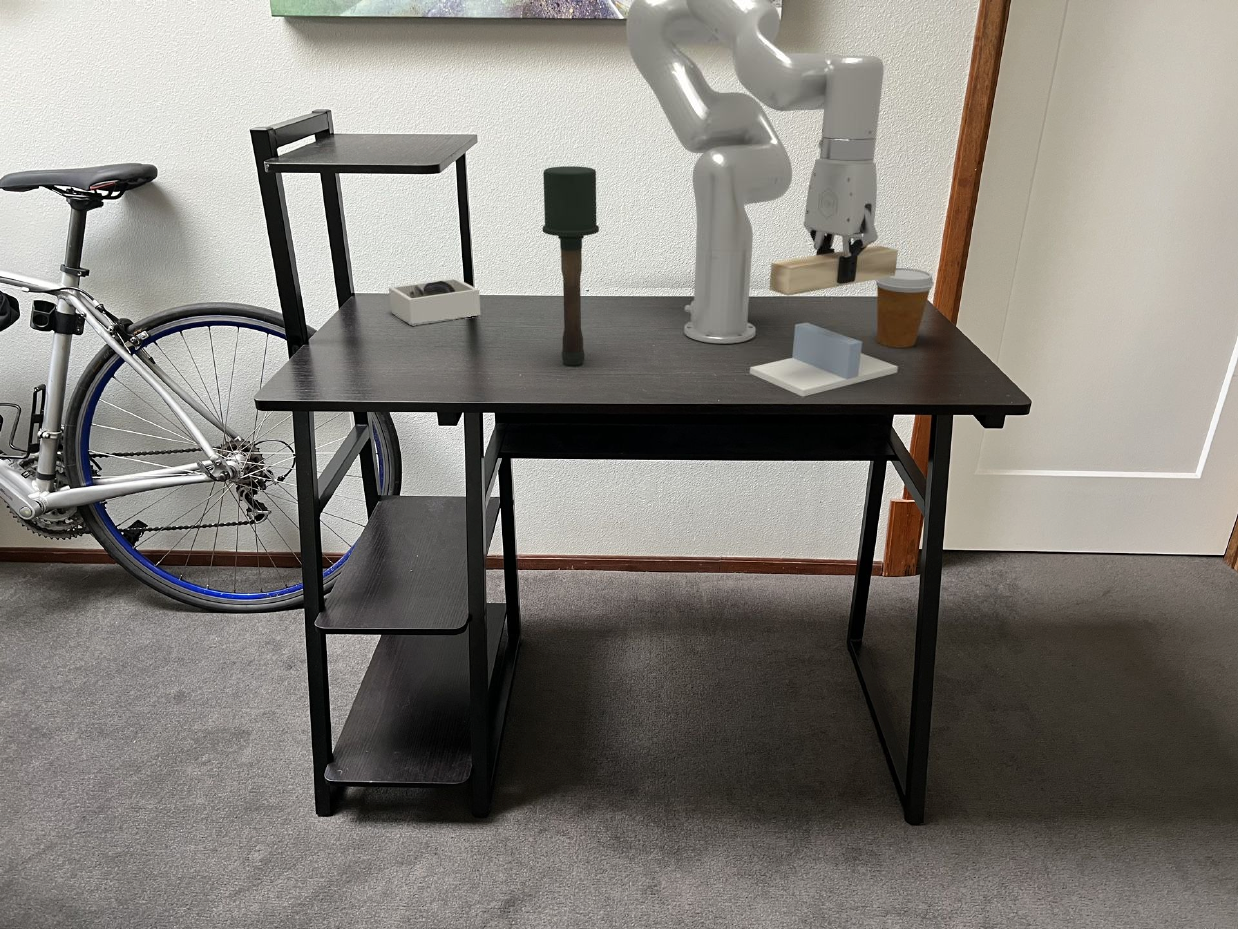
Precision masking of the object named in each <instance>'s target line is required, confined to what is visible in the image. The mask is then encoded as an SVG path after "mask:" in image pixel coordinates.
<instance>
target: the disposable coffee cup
mask: <svg viewBox="0 0 1238 929" xmlns="http://www.w3.org/2000/svg"><path fill="white" fill-rule="evenodd" d="M874 281H875V283H876V286H877V292H876V293H877V295H876V297H877V298H876V299H877V301H876V302H877V303H876V307H877V309H876V311H877V314H876V318H877V319H876V320H877V322H876V327H877V328H876V329H877V334H876V335H877V339H876V342H878V344H880V345H881V346H886V347H890V348H902V349H903V348H910V347H913V346H915V344H916V340H917V337H918V333H919V329H920V326H921V324H922V319H923V316H924V312H925V308H926V305H927V302H928V299H929V295H930V290H932V288H933V286H934V284H935V282H934V281H933V275H932V273H930V272H929V271H926V270H922V269H917V268H910V267H896V271H895V276H892V277H887V278H881V279H876V280H874Z"/></svg>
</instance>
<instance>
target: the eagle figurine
mask: <svg viewBox="0 0 1238 929" xmlns="http://www.w3.org/2000/svg"><path fill="white" fill-rule="evenodd" d="M436 281H437V282H433V283H428V284H426V286H425V287H424V289H423V290H424V291H423V290H421V289H420V288H419V287H418V286H417V285H415V288H416V290H417V292H418V293H419V294H420V295H421V296H419V297H425V296H432V295H439V294H446V293H453V292H455V289H454V288H453V287H452V286H451V285H450V284H449V283H447V282H445V281H444V282H443V281H439V280H436ZM409 293H410V296H409V295H408V294H407V296H409V297H410V298H415V297H416V295H415V294H414V292H413V291H412V292H409ZM416 298H418V297H416Z"/></svg>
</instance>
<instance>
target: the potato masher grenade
mask: <svg viewBox="0 0 1238 929" xmlns="http://www.w3.org/2000/svg"><path fill="white" fill-rule="evenodd" d="M543 203H544V204H543V206H544V207H543V208H544V224H543V226H542V232H543V233H544V234H546V235H549V236H556V237H557V238H558V239H559V245H560V246H559V247H560V259H561V260H560V262H561V263H560V268H561V269H560V270H561V273H562V274H561V275H562V283H563V284H562V286H563V288H562V289H563V290H562V291H563V333H562V351H561V360H562V362H563V364H565V365H567V366H580V365H582V364H583V363H584V360H585V356H586V354H585V350H584V336H583V332H582V315H581V314H582V313H581V312H582V310H581V309H582V307H581V306H582V305H581V302H582V300H581V298H582V297H581V295H582V294H581V276H582V272H583V271H582V270H583V265H582V264H583V262H582V260H583V259H582V257H583V256H582V254H583V253H582V251H583V250H582V249H583V239H584V236H590V235H591V236H592V235H594V234H598V233H599V232H600V226H599V225H597V171H596V169H595V168H592V167H585V166H574V165H573V166H571V165H569V166H568V165H567V166H553V167H547V168H545V169H544V170H543Z"/></svg>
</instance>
